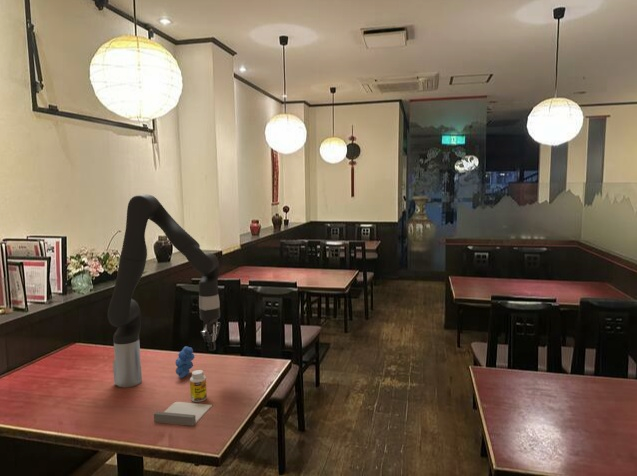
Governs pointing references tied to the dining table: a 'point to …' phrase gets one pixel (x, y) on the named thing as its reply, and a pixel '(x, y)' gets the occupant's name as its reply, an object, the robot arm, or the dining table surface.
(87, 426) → the dining table surface
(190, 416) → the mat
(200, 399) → the supplement bottle
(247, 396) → the dining table surface
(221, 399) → the dining table surface
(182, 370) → the grapes
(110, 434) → the dining table surface
